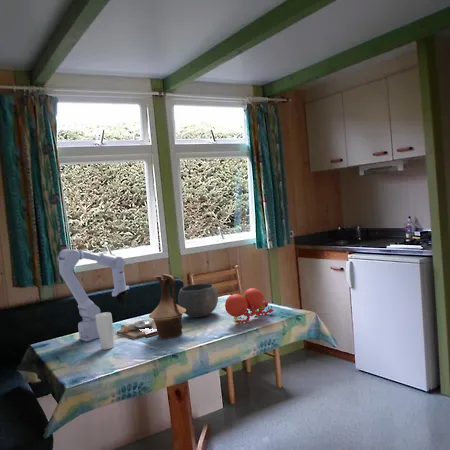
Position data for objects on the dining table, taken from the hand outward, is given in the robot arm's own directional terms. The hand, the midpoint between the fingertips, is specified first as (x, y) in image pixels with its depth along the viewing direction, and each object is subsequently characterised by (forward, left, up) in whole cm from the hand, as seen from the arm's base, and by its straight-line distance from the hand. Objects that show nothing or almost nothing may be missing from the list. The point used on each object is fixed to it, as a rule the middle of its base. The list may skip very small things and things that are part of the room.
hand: (123, 306), depth 231 cm
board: (+1, -16, -10) cm, 19 cm away
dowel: (-7, -14, -9) cm, 18 cm away
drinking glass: (-22, -23, -10) cm, 33 cm away
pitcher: (+3, -35, -10) cm, 36 cm away
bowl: (+30, -23, -10) cm, 39 cm away
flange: (-2, -15, -8) cm, 17 cm away
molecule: (+36, -53, -10) cm, 65 cm away
